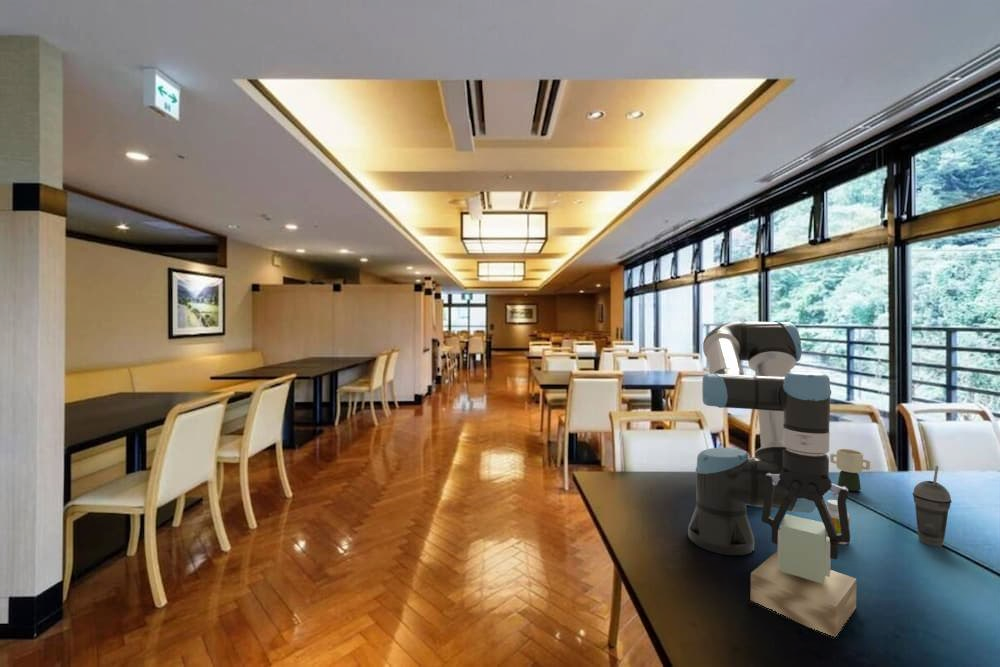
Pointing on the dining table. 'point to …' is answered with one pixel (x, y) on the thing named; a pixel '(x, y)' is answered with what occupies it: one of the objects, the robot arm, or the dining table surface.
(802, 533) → the sage block
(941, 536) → the beverage cup
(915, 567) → the dining table surface
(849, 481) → the character mug
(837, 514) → the supplement bottle
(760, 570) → the maple block
